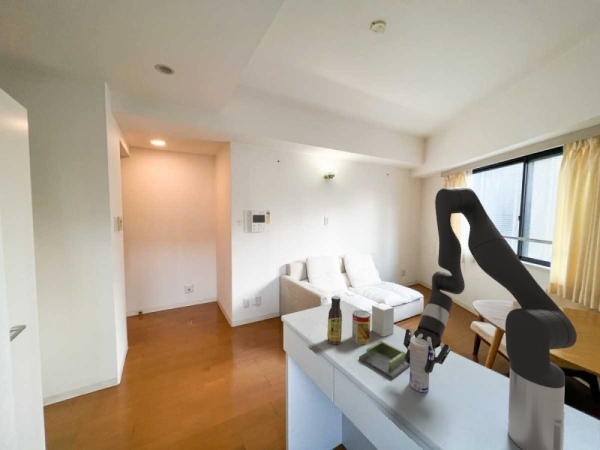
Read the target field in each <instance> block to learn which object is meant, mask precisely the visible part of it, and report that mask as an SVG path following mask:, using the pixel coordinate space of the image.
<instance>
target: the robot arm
mask: <svg viewBox="0 0 600 450" xmlns="http://www.w3.org/2000/svg"><path fill="white" fill-rule="evenodd" d="M434 199H435V200H434V206H435V207H434V208H435V217H436V225H437V226H436V227H437V234H438V256H437V264H438V266H439V267H440V268H441V269H443V270H445V271H448V272H445V271H436V272H435V273H433V274H432V277H431V291H430V297H429V299H428V302H427V305H426V306H425V307H424V310H423V313H422V315H421V317H420V320H419V323H418V325H417V329H415V331H413V330H411V329H408V328H406V329H405V334H404V339H403V343H402V344H403V346H404V347H405V349H407V350H406V355H405V361H406V362H407V363H408V364H410V339H411V338H420V339H423V340H425V341H427V342H428V343H429V347H430V348H429V359H428V362H427V365H426V367H425V372H426V373H428V374H429V375H430V374H431V373H432V372H433V370H434V367H435V365H436V364H439V365H443V364H444V362H445V360H446V358H447V357H448V355H449V354H450V352H451V348H450V346H449V344H447V343H444V342H442V338H443V336H444V334H445V333H444V332H445V330H446V326H447V325H448V320H449V315H450V313H451V312H450V311H451V309H452V307H453V298H451V296H449V295H447V294H446V293H449V294H452V295H453V294H454V295H460V294H462V293H463V292H464V291H465V287H466V286H465V285H466V284H465V280H464V276H463V271H462V266H461V261H462V245H461V241H460V240H459V238H458V236H457V234H456V233H455V231H454V229H453V227H452V220H451V219H452V215H455V214H462V215H463V216H464V218H465V219H466V221H467V223H468V225H469V235H468V239H467V248H468V250H469V251H470V253H471V255H472V257H473V259H474V261H475V262H476V263H477V266H478V267H479V268H480V269H481V270H482V271H483V272H484V273H485V274H486V275H487V276H489V277H490V278H492V279H493V280H494V281H495V282H497V283H498V284H499V285H501V286H502V287H503V288H505V289H506V290H507V291H508V292H509V293H510V294H511V295H512V296H513V298H514V299H515V300H516V302H517V303H518V305H519V306H520V308H515V309H511V310H510V311H509V312H508V314H507V315H506V318H505V322H504V323H505V325H504V329H505V351H506V355H507V356H508V357H507V358H508V359H509V387H508V421H507V433H508V436H509V437H510V439H511V440H512V442H513V443H514V444H515V445H516V446H517V447H519V448H520V449H521V450H564V442H565V441H564V440H565V439H564V437H565V435H564V434H565V388H566V387H565V386H566V376H565V372H564V371H563V369H562V368H560V366H558V365H557V364H555V363H553V362H552V361H551V354H550V353H551V351H552V350H562V349H563V350H564V349H567V348H571V347H573V346H574V345H575V344H576V342H577V339H578V335H577V331H576V328H575V326H574V324H573V323H572V321H571V320H570V318H569V317H568V316H567V315H566V313H565V312H564V311H563V310H562V309H561V308H560V306H559V305H557V303H556V302H555V301H554V300H553V299H552V298H551V297H550V295H549V294H548V293H547V292H546V290H544V289H543V288H542V287H541V286H540V284H539V283H538V282H537V280H536V279H535V278H534V276H533V275H532V274H531V273H530V271H529V270H528V269H527V267H526V266H525V265H524V263H523V262H522V261H521V259H520V258H519V256H518V255H517V254H516V252H515V250H514V249H513V248H512V247H511V245H510V244H509V242H508V241H507V240H506V238H505V237H504V236H503V235H502V233H500V231H499V230H498V228H497V226H496V225H495V223H494V222H493V220H492V219H491V218H490V216H489V215H488V213H487V211H486V209H485V207H484V205H483V204H482V202H481V201H480V199H479V197H478V195H477V194H476V192H475V191H474V190H473V189H472V188H471V187H468V186H454V187H443V188H440V189H439V190H438V191H437V193H436V195H435V198H434ZM444 292H445V293H444ZM437 348H440V351H439V353H438V355H436V349H437Z"/></svg>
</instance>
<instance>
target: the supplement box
mask: <svg viewBox="0 0 600 450" xmlns="http://www.w3.org/2000/svg"><path fill="white" fill-rule="evenodd" d="M394 310H395V309H394V306H393V307H392V306H390V305H388V304H386V303H384V302H382V303H378V304H377V303H376V304H373V305H372V306H371V331H372V332H374V333H376V334H377V335H379V336H381V337H383V338H384V337H387V336H390V335H393V334H394V333H395V332H394V331H395V328H394V327H395V318H394V316H395V312H394Z"/></svg>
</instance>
